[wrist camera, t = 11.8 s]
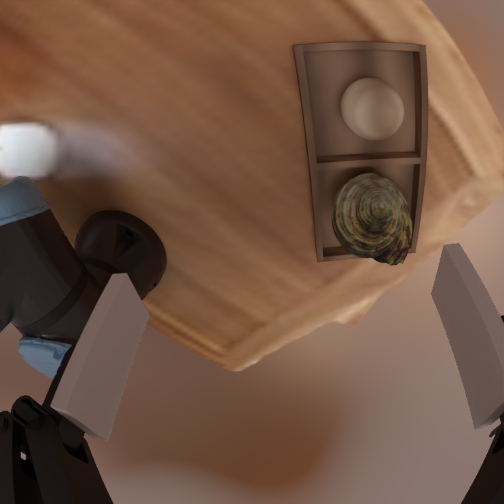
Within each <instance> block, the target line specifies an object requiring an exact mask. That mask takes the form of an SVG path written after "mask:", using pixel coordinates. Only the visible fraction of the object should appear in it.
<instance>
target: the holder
mask: <svg viewBox="0 0 504 504" xmlns="http://www.w3.org/2000/svg"><path fill="white" fill-rule="evenodd" d="M292 46H293V52H294V58H295V65H296V71H297V77H298V84H299V91H300V98H301V105H302V113H303V121H304V129H305V137H306V145H307V154H308V164H309V173H310V183H311V194H312V206H313V218H314V231H315V245H316V255H317V262H325V261H336V260H347V259H357V258H362V257H358V256H355V255H353V254H351V253H349V252H348V251H346V250H345V249H344V248H343V247H342V245H341V244H340V243H339V241H338V240H337V238H336V236H335V234H334V231H333V227H332V220H331V214H332V205H333V201H334V198H335V196H336V194H337V192H338V190H339V189H340V188H341V187H342V186H343V185H344V184H345V183H346V182H347V181H348V180H350V179H352V178H354V177H356V176H358V175H361V174H367V173H376V174H378V175H379V176H380V177H381V178H386V179H388V180H389V181H391V182H392V183H393V184H395V185H396V186H397V187H398V188H399V189H400V191H401V193H402V195H403V197H404V198H405V200H406V202H407V204H408V207H409V210H410V215H411V221H412V238H411V243H410V247H409V250H408V253H415V252H416V246H417V240H418V234H419V227H420V220H421V212H422V204H423V195H424V185H425V173H426V159H427V140H428V77H427V58H426V45H420V44H409V43H392V42H332V43H315V44H302V45H292ZM363 78H376V79H380V80H383V81H385V82H387V83H388V84H390V85H391V86H392V87H393V88H394V89H395V90H396V91H397V92H398V94H399V95H400V97H401V99H402V102H403V106H404V117H403V121H402V124H401V126H400V127H399V129H398V130H397V131H396V132H395V133H394V134H393V135H391V136H390V137H388V138H385V139H382V140H368V139H364V138H362V137H360V136H358V135H356V134H355V133H354V132H352V131H351V130H350V129H349V128H348V126H347V125H346V123H345V122H344V119H343V117H342V114H341V99H342V96H343V93H344V92H345V90H346V89H347V87H348V86H349V85H350V84H352V83H353V82H355V81H357V80H359V79H363Z"/></svg>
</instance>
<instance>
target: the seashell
mask: <svg viewBox="0 0 504 504" xmlns="http://www.w3.org/2000/svg"><path fill="white" fill-rule="evenodd" d="M331 220H332V227H333V231H334V234H335V236H336V238H337V240H338V241H339V243H340V244H341V245H342V247H343V248H344V249H345V250H346V251H348V252H349V253H351V254H353V255H355V256H358V257H362V258H373V259H374V260H376V261H378V262H380V263H388V264H389V265H397V264H398V263H403V262H404V260H405V257H406V256H407V254H408V250H409V247H410V243H411V238H412V221H411V215H410V210H409V207H408V204H407V202H406V200H405V198H404V197H403V195H402V193H401V191H400V189H399V188H398V187H397V186H396V185H395V184H393V183H392V182H391V181H389V180H388V179H386V178H381V177H380V176H379V175H378V174H376V173H367V174H361V175H358V176H356V177H354V178H352V179H350V180H348V181H347V182H346V183H345V184H344V185H343V186H342V187H341V188H340V189H339V190H338V192H337V194H336V196H335V198H334V201H333V205H332V214H331Z"/></svg>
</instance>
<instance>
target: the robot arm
mask: <svg viewBox="0 0 504 504" xmlns="http://www.w3.org/2000/svg"><path fill="white" fill-rule="evenodd" d="M50 207H51V206H50V204H49V203H48V202H46V201H45V199H44V198H43V196H42V194H41V193H40V191H39V189H38V188H37V186H36V184H35V183H34V181H33V180H32V179H30V178H29V177H26V176H17V177H15V178H12V179H10V180H8V181H6V182H4V183H2V184H1V185H0V332H1V331H2V330H3V329H4V328H5V327H6V326H7V325H8V324H9V323H10V322H11V323H12V324H13V325H14V326H15V327H16V328H17V329H18V330H19V331H20V333H21V334H22V335H23V337H22V338H21V339H20V340H19V346H18V351H19V353H20V354H21V357H22V358H23V359H24V360H25V361H26V362H27V363H28V364H29V365H31V366H32V367H33V368H35V369H36V370H38V371H39V372H41V373H42V374H44V375H46V376H48V377H50V378H52V379H53V381H52V383H51V386H50V388H49V391H48V393H47V395H46V398H45V400H44V403H43V404H42V406H41V405H39V404H38V403H37V402H36V401H34V399H32V398H31V397H30V396H27V395H24V396H21V397H19V398H18V399H17V400H16V401H15V403H14V404H13V406H12V409H11V413H10V412H8V411H2V412H0V504H113V502H112V500H111V498H110V496H109V493H108V491H107V489H106V487H105V485H104V482H103V481H102V478H101V475H100V473H99V471H98V468H97V466H96V464H95V461H94V459H93V456H92V454H91V451H90V448H89V446H88V443H87V441H86V440H85V438H84V433H87V434H88V435H89V436H91V437H92V438H95V439H99V440H102V441H106V442H108V441H109V437H110V434H111V431H112V427H113V424H114V421H115V417H116V414H117V411H118V407H119V404H120V401H121V398H122V395H123V391H124V388H125V385H126V382H127V379H128V376H129V373H130V370H131V367H132V364H133V361H134V359H135V355H136V353H137V350H138V347H139V344H140V341H141V339H142V336H143V333H144V330H145V327H146V325H147V322H148V319H149V317H150V315H149V313H148V311H147V310H146V308H145V306H144V304H143V302H142V300H143V299H144V298H145V297H146V296H147V294H148V293H149V292H150V291H151V290H153V289H154V288H155V287H156V286H157V285H158V283H159V282H160V280H161V277H162V275H163V273H164V270H165V267H166V254H165V250H164V247H163V245H162V243H161V241H160V239H159V238H158V236H157V235H156V234H155V233H154V231H153V230H152V229H151V228H150V227H149V226H147V225H146V224H145V223H144V222H142V221H141V220H139V219H138V218H136V217H134V216H132V215H130V214H127V213H124V212H120V211H110V210H109V211H102V212H98V213H96V214H94V215H92V216H91V217H90V218H89V219H88V220H87V221H86V222H85V223H84V225H83V226H82V227H81V228H80V230H79V232H78V234H77V237H76V241H75V247H74V249H73V247H72V245H71V244H70V242H69V240H68V239H67V237H66V236H65V234H64V232H63V231H62V229H61V227H60V225H59V224H58V222H57V220H56V219H55V217H54V215H53V213H52V211H51V210H50ZM431 295H432V298H433V300H434V303H435V305H436V308H437V310H438V312H439V315H440V318H441V320H442V323H443V325H444V328H445V331H446V334H447V337H448V339H449V342H450V345H451V347H452V351H453V354H454V357H455V360H456V363H457V366H458V369H459V372H460V376H461V379H462V382H463V386H464V389H465V393H466V396H467V400H468V404H469V407H470V411H471V415H472V420H473V424H474V428H475V430H476V429H479V428H483V427H485V426H488V425H491V424H493V423H494V422H495V421H496V420H497V419H498V418H499V417H500V421H501V424H500V425H499V426H498V427H497V428H495V429H494V430H493V431H492V432H491V434H490V435H489V437H492V436H493V435H494V434H495V437H494V439H493V442H492V444H491V446H490V449H489V451H488V453H487V455H486V457H485V459H484V462H483V464H482V466H481V468H480V470H479V472H478V474H477V476H476V478H475V479H474V481H473V483H472V485H471V487H470V489H469V490H468V492H467V494H466V496H465V498H464V499H463V501H462V503H461V504H504V315H503V316H500V315H499V313H498V311H497V309H496V307H495V305H494V303H493V301H492V299H491V297H490V295H489V293H488V291H487V290H486V288H485V286H484V284H483V282H482V281H481V279H480V277H479V275H478V274H477V272H476V270H475V268H474V267H473V265H472V263H471V262H470V260H469V258H468V257H467V255H466V253H465V252H464V250H463V249H462V247H461V245H460V244H459V243H457V244H447V245H443V250H442V254H441V258H440V263H439V267H438V270H437V274H436V278H435V282H434V285H433V289H432V293H431ZM21 452H22V453H24V454H26V459H25V460H23V459H22V458H21Z"/></svg>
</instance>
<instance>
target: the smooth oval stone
mask: <svg viewBox="0 0 504 504" xmlns="http://www.w3.org/2000/svg"><path fill="white" fill-rule="evenodd" d="M341 114H342V117H343V119H344V122H345V123H346V125H347V126H348V128H349V129H350V130H351V131H352V132H354V133H355V134H356V135H358V136H360V137H362V138H364V139H368V140H382V139H385V138H388V137H390V136H391V135H393V134H394V133H395V132H396V131H397V130H398V129H399V127H400V126H401V124H402V121H403V117H404V106H403V102H402V99H401V97H400V95H399V94H398V92H397V91H396V90H395V89H394V88H393V87H392V86H391V85H390V84H388V83H387V82H385V81H383V80H380V79H376V78H363V79H359V80H357V81H355V82H353V83H352V84H350V85H349V86H348V87H347V89H346V90H345V92H344V93H343V96H342V99H341Z"/></svg>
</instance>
